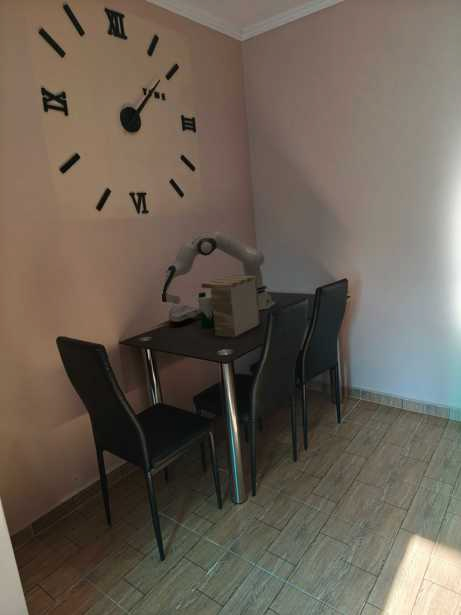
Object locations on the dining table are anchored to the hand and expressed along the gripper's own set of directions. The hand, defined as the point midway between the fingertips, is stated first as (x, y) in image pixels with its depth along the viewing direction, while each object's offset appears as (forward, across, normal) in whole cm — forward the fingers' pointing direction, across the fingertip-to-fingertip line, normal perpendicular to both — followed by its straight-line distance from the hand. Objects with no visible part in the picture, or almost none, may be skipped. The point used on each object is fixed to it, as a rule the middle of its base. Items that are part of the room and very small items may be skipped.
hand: (195, 315), depth 243 cm
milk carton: (+10, 0, +6) cm, 12 cm away
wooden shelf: (+28, 0, +6) cm, 29 cm away
